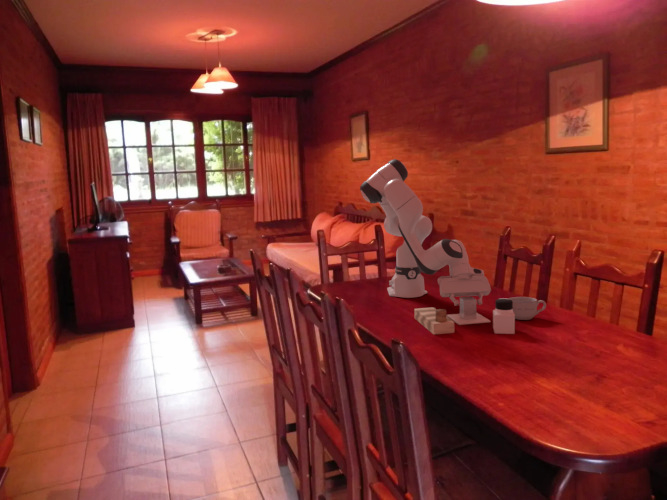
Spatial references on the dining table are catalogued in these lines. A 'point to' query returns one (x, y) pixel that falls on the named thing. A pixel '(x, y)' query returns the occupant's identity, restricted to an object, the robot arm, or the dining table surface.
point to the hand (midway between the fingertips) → (468, 304)
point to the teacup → (526, 307)
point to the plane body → (434, 320)
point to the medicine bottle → (504, 317)
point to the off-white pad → (461, 321)
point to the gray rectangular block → (467, 308)
